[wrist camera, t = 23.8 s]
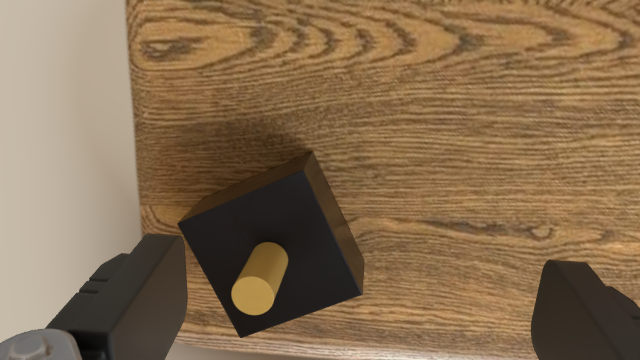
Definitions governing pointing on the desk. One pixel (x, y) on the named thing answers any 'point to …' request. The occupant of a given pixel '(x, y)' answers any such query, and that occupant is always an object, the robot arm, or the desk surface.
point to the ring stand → (275, 246)
